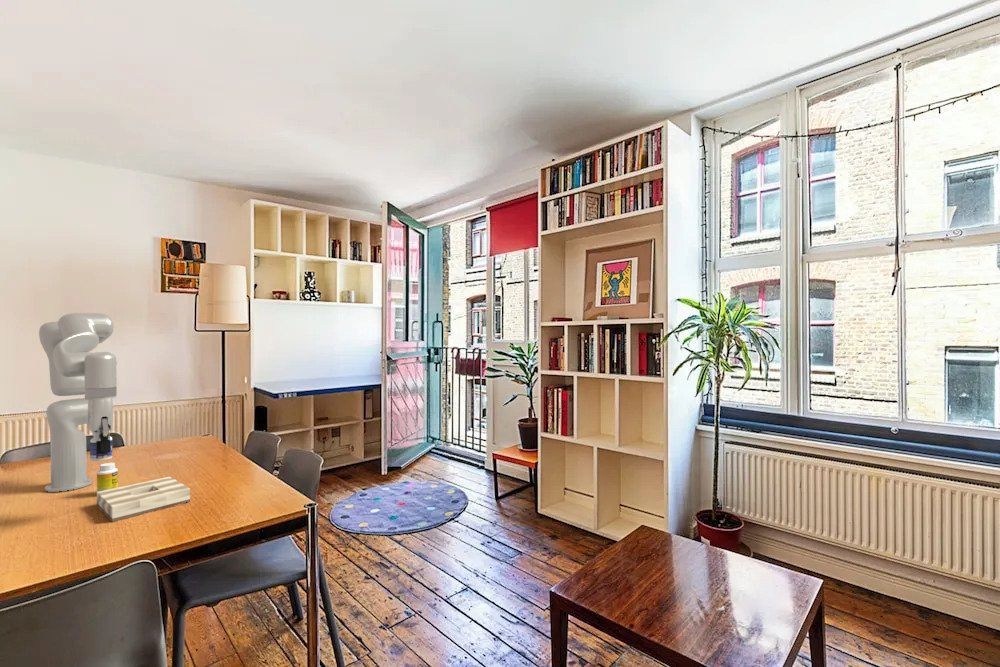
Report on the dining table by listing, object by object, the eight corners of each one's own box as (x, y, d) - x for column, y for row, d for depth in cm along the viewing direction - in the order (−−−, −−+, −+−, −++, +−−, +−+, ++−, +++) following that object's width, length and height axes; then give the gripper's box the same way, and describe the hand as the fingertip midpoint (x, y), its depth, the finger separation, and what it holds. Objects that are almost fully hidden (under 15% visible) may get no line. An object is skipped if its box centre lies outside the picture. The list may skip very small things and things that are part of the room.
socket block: (96, 505, 149) (96, 492, 149) (170, 489, 164) (169, 476, 164) (112, 522, 136) (112, 506, 136) (190, 502, 152) (190, 488, 152)
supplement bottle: (113, 495, 159) (113, 465, 158) (93, 497, 157) (93, 467, 157) (120, 489, 164) (120, 461, 164) (101, 491, 162) (101, 462, 162)
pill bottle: (98, 462, 140) (98, 432, 140) (85, 460, 141) (85, 432, 141) (116, 457, 145) (116, 429, 145) (104, 456, 146) (103, 428, 146)
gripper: (80, 392, 145) (80, 449, 146) (89, 397, 134) (90, 459, 135) (110, 389, 151) (111, 444, 151) (122, 394, 140) (123, 454, 140)
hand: (101, 450), depth 143 cm, fingers closed on pill bottle, 5 cm apart
